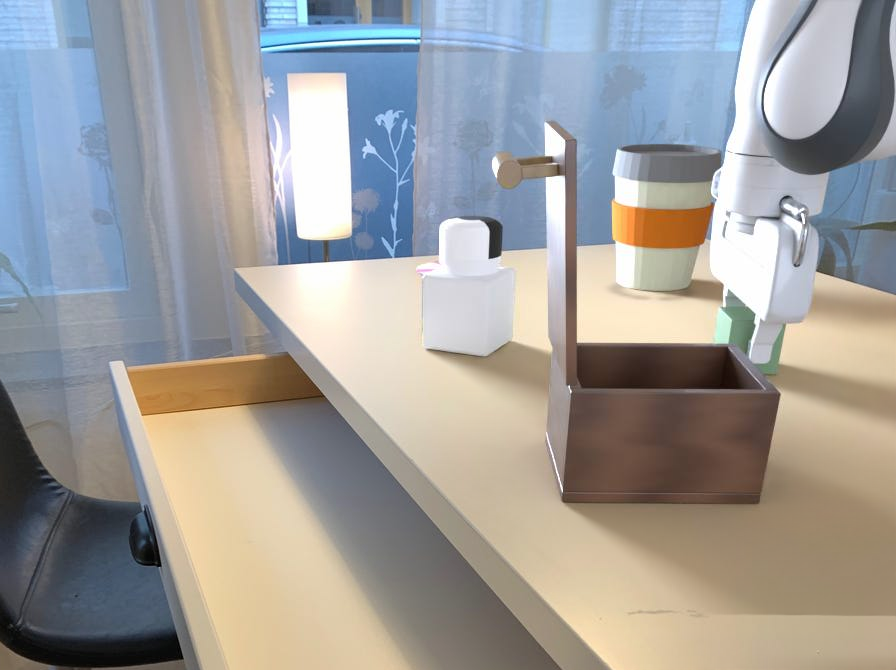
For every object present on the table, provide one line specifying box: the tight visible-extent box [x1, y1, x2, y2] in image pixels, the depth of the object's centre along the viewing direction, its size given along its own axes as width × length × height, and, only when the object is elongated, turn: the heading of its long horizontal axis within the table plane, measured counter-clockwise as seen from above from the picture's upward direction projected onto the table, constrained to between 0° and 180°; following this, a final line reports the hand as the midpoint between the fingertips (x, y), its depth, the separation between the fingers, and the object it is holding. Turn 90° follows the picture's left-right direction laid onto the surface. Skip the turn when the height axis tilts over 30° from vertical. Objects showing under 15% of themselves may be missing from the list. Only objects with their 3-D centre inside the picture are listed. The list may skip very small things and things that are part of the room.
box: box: [545, 342, 782, 505], centre depth 73 cm, size 14×12×8 cm
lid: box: [491, 120, 578, 386], centre depth 67 cm, size 14×12×4 cm
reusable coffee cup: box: [611, 143, 723, 292], centre depth 123 cm, size 13×12×15 cm
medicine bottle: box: [421, 214, 517, 357], centre depth 100 cm, size 7×7×12 cm
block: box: [712, 306, 787, 376], centre depth 96 cm, size 5×5×5 cm
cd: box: [416, 260, 442, 276], centre depth 132 cm, size 11×11×1 cm
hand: (744, 347), depth 96 cm, fingers open, 7 cm apart
